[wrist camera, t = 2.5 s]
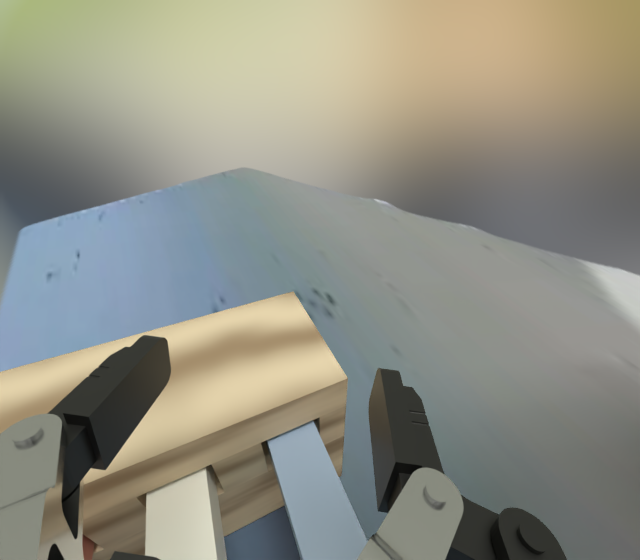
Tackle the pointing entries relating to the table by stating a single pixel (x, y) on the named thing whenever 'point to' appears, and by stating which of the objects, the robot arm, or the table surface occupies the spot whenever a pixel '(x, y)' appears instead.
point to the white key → (185, 519)
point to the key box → (201, 414)
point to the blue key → (314, 497)
